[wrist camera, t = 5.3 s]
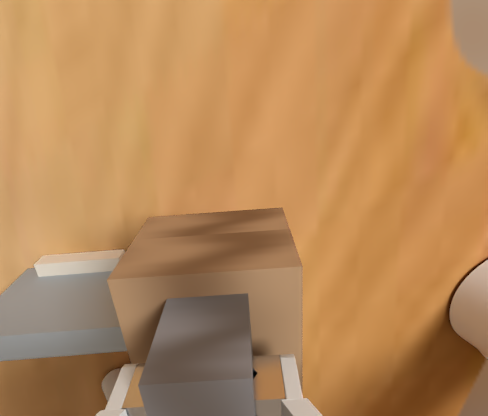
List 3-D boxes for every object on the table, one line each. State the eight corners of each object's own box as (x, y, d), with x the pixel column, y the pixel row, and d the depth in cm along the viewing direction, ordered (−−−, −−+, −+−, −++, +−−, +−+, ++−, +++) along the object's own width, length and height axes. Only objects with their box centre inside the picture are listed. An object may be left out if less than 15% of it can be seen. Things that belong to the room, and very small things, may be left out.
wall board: (234, 240, 31) (236, 302, 22) (237, 273, 32) (240, 341, 24) (22, 256, 30) (-55, 325, 22) (35, 288, 32) (-32, 363, 24)
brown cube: (282, 207, 16) (329, 344, 8) (285, 314, 19) (322, 501, 10) (148, 217, 16) (51, 362, 8) (170, 321, 19) (115, 513, 10)
